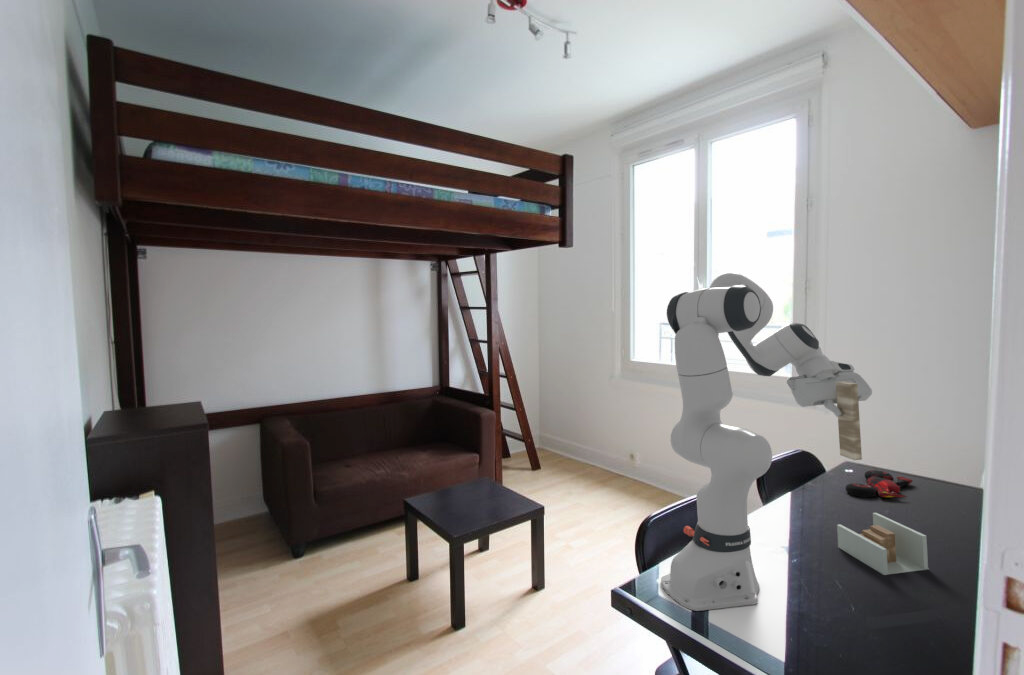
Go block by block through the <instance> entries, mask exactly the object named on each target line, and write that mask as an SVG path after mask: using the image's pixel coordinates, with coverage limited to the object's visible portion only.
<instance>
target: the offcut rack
mask: <svg viewBox="0 0 1024 675" xmlns="http://www.w3.org/2000/svg"><path fill="white" fill-rule="evenodd" d="M873 525H879V526H881V527H883V528H885V529H887V530H889V531H891V532H893V533H895V546H896V562H890V563H887V549H886V548H884V547H882V546H880V545H878V544H876V543H874V542H872V541H871V540H869V539H867V538H865V537H863V536H861V535H859V534H860V533H857V532H856V531H854V530H852V529H850V528H849V527H846V526H844V525H843V524H840V523H839V524H836V531H837V532H836V533H837V548H838V549H840V550H842V551H843V552H845V553H847V554H849V555H850V556H852V557H853V558H855V559H857V560H859V561H860V562H862V563H863V564H865V565H866V566H868V567H869V568H872V569H873V570H875V571H876V572H878V573H880V574H881V575H884V576H887V575H894V574H901V573H911V572H918V571H927V570H929V562H928V544H927V541H928V540H927V535H926V534H923V533H922V532H920V531H918V530H915V529H913V528H911V527H908V526H906V525H903V524H902V523H900V522H898V521H895V520H893V519H891V518H888V517H887V516H885V515H882V514H880V513H878V512H873V513H872V526H873Z"/></svg>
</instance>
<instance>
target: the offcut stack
mask: <svg viewBox="0 0 1024 675" xmlns="http://www.w3.org/2000/svg"><path fill="white" fill-rule="evenodd" d="M861 532H862V533H858V534H859V535H861V536H863V537H865V538H867V539H869V540H871V541H872V542H874V543H876V544H878V545H880V546H882V547H884V548H886V549H887V563H890V562H896V546H895V533H893V532H891V531H889V530H887V529H885V528H883V527H881V526H879V525H873V524H872V525H870V528H869V529H861Z"/></svg>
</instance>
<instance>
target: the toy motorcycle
mask: <svg viewBox="0 0 1024 675" xmlns="http://www.w3.org/2000/svg"><path fill="white" fill-rule="evenodd" d="M864 477H865V479H866V484H865V483H858V482H856V483H855V482H854V483H852V482H851V483H847V484H846V485H845V491H846V492H847V493H848V494H849V495H851V494H852V496H854V495H855V497H859V498H860V497H861V498H871V497H874V496H875V495H876V494H878V496H879V497H881V498H902V497H908V496H907V495H902V494H899V493H900V492H901V488H900V487H903V486H909V485H911V484H912V482H913V480H912V479H911V478H908V477H904V476H897V477H896V480H895V478H894V477H893V475H892V474H891V473H889V472H887V471H883V470H878V469H877V470H876V469H873V470H872V469H871V470H867V471H866V472H865V473H864Z"/></svg>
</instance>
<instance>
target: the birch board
mask: <svg viewBox="0 0 1024 675" xmlns="http://www.w3.org/2000/svg"><path fill="white" fill-rule="evenodd" d="M836 394H837V403H836V406H837V407H838V408H842V409H843V411H844V412H845V414H844V415H843V416H840V417H837V423H838V424H837V425H838V427H837V428H838V441H839V443H838V444H839V455H840V456H842V457H845V458H848V459H850V460H854V461H861V460H863V456H862V441H861V440H862V438H861V424H860V423H861V422H860V405H859V402H860V401H858V385H857V384H856V383H850V382H843V381H842V382H836Z"/></svg>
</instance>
